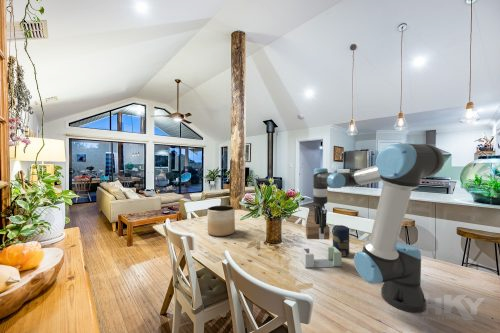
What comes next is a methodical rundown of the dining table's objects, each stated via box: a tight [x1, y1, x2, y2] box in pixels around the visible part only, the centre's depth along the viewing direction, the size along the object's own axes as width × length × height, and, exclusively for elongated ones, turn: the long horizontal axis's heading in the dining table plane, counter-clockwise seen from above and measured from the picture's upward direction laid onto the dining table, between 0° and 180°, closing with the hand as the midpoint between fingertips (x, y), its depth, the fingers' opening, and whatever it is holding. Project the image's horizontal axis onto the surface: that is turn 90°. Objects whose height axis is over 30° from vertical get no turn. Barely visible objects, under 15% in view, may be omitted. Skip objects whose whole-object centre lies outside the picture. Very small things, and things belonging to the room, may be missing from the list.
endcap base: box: [300, 247, 343, 269], centre depth 122 cm, size 9×20×7 cm, turn 92°
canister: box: [332, 224, 350, 257], centre depth 134 cm, size 10×10×18 cm
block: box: [305, 223, 331, 240], centre depth 121 cm, size 4×12×7 cm, turn 87°
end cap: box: [326, 246, 343, 266], centre depth 122 cm, size 9×4×7 cm, turn 2°
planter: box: [207, 204, 236, 237], centre depth 176 cm, size 22×22×20 cm
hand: (319, 237), depth 121 cm, fingers closed on block, 4 cm apart
